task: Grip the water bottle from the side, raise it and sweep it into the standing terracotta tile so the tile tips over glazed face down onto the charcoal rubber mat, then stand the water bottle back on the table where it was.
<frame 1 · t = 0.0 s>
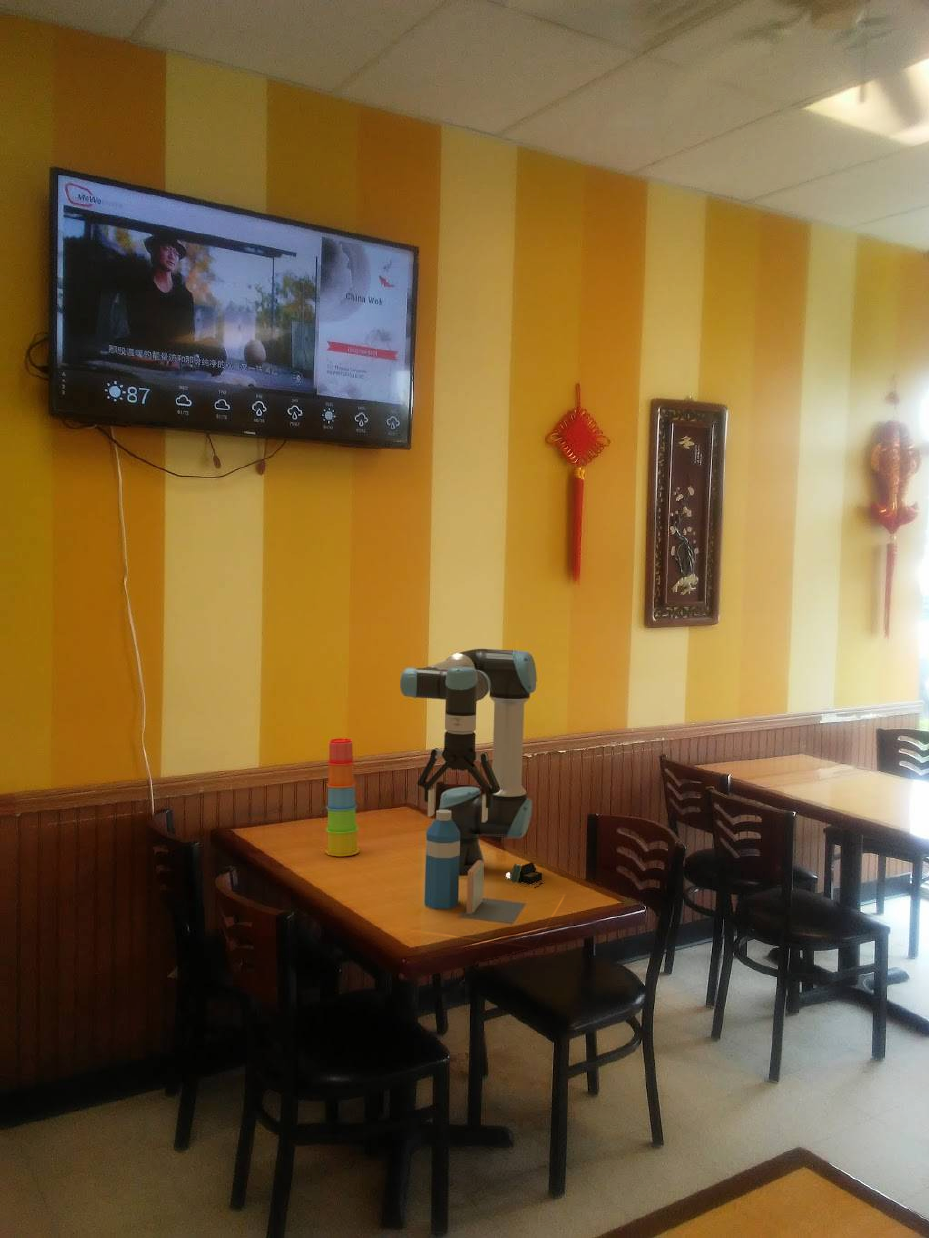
hand: (457, 818, 248), 28 cm above the table, tool pointing down, fingers open, 13 cm apart
tile: (474, 907, 265), point 1 cm above the table, touching mat
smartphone: (528, 882, 291), on the table
mat: (492, 912, 264), on the table
stacking cups: (342, 853, 311), on the table
water bottle: (441, 906, 267), on the table
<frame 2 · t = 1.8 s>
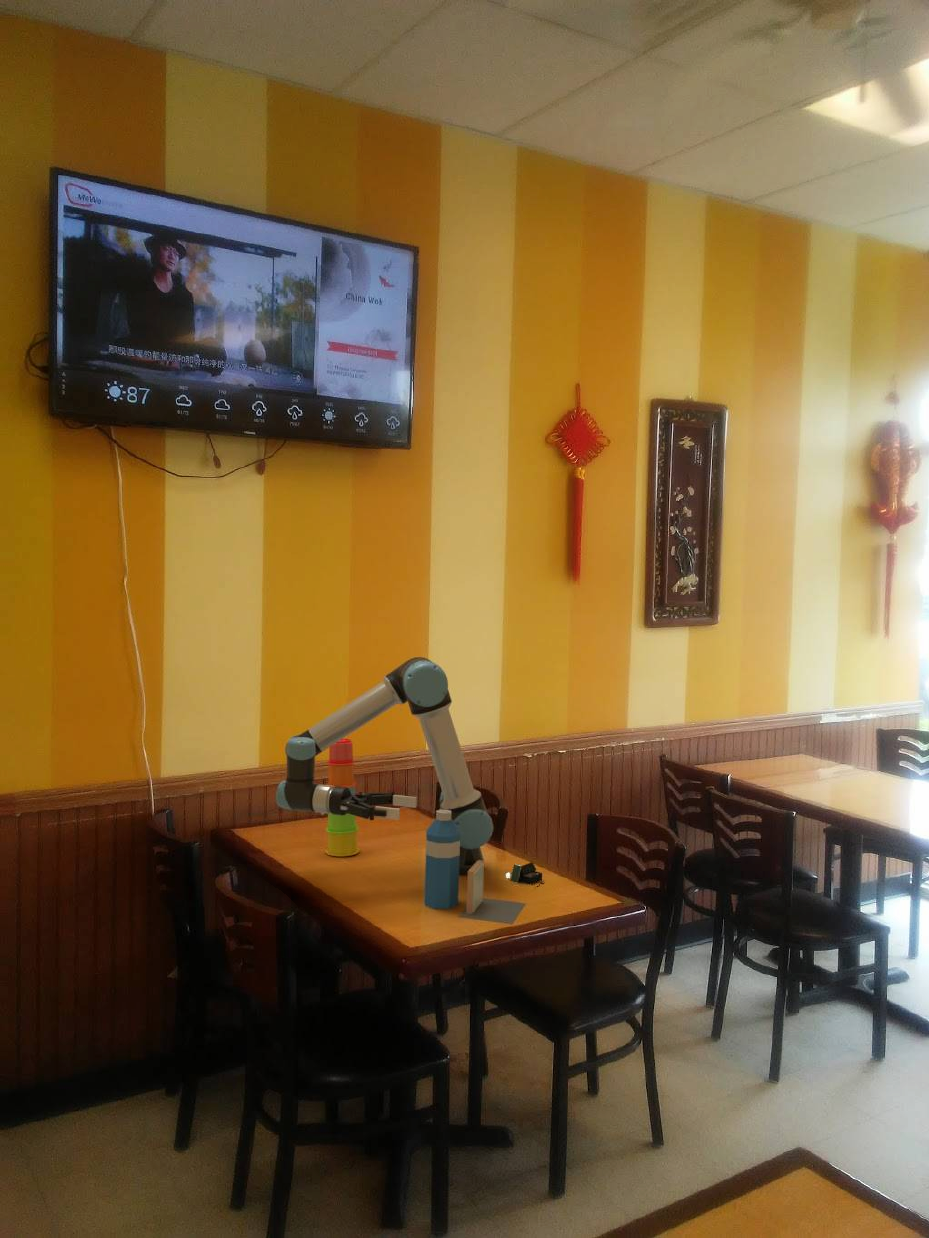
hand: (408, 808, 268), 25 cm above the table, tool horizontal, fingers open, 13 cm apart
nothing on the table moved.
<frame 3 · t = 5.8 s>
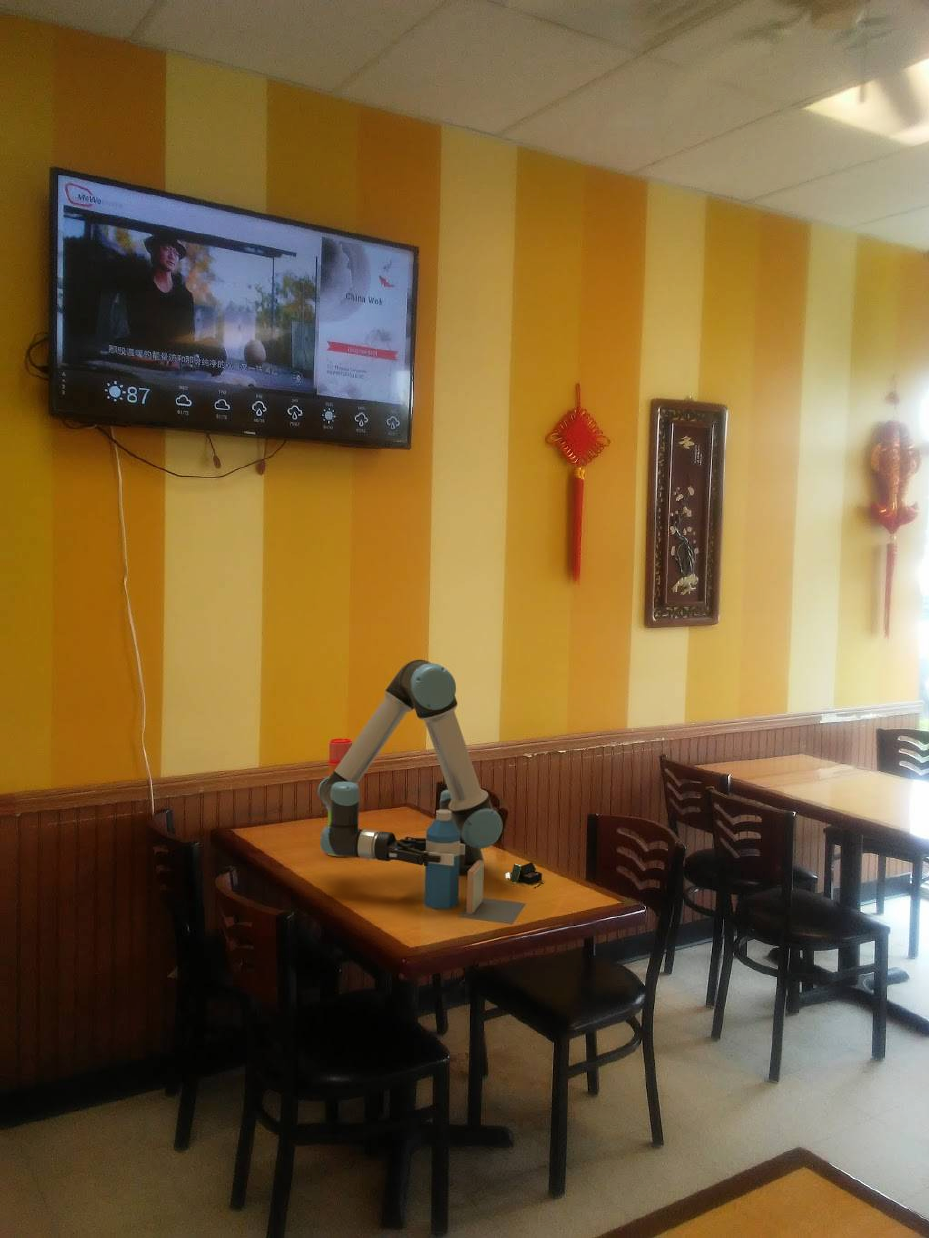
hand: (459, 854, 265), 14 cm above the table, tool horizontal, fingers closed on water bottle, 9 cm apart
water bottle: (441, 906, 267), on the table, touching gripper
everything else where it was.
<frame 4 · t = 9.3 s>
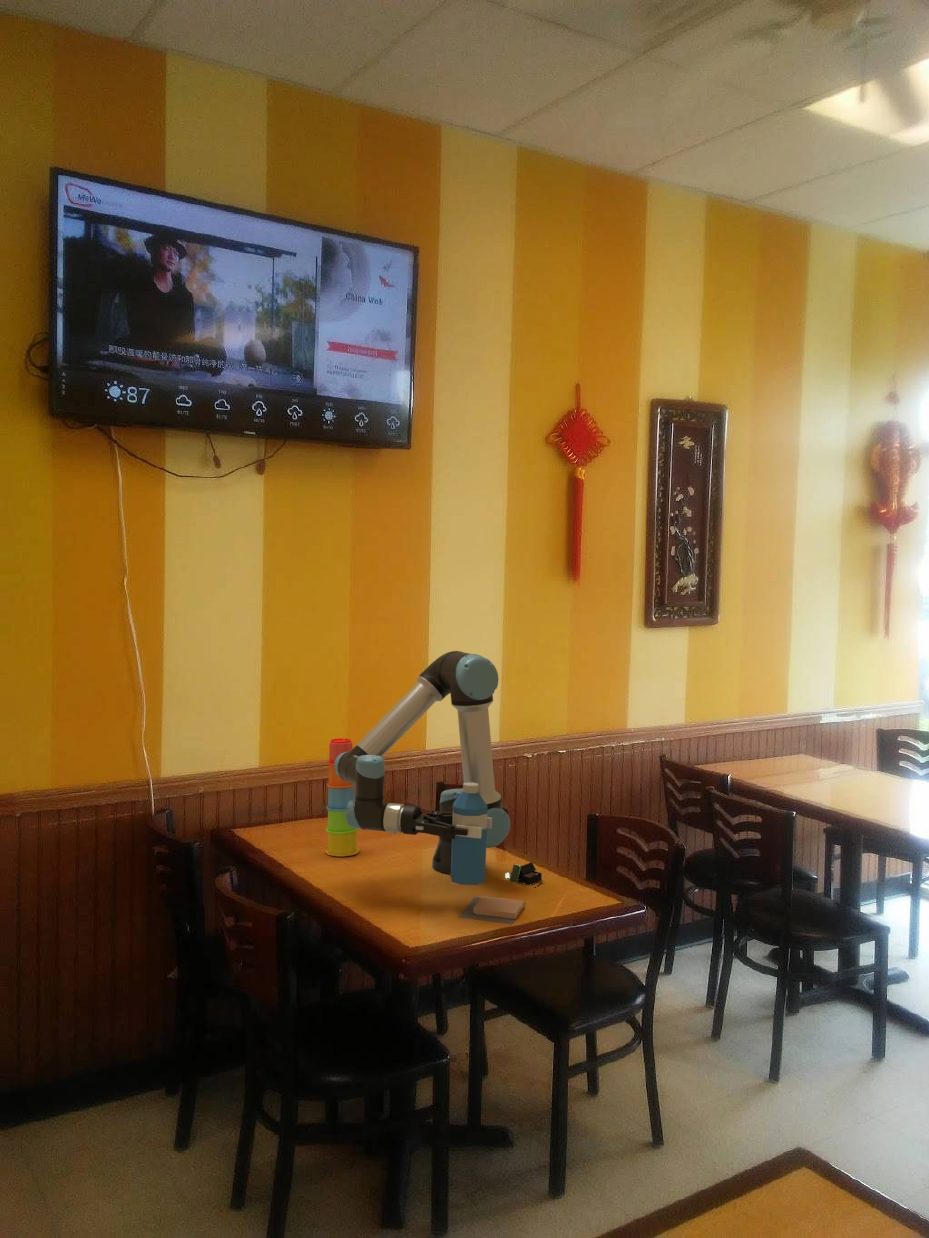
hand: (486, 827, 262), 22 cm above the table, tool horizontal, fingers closed on water bottle, 9 cm apart
tile: (478, 904, 265), point 2 cm above the table, tilted 90°, touching mat
water bottle: (467, 880, 264), point 8 cm above the table, touching gripper
everything else where it was.
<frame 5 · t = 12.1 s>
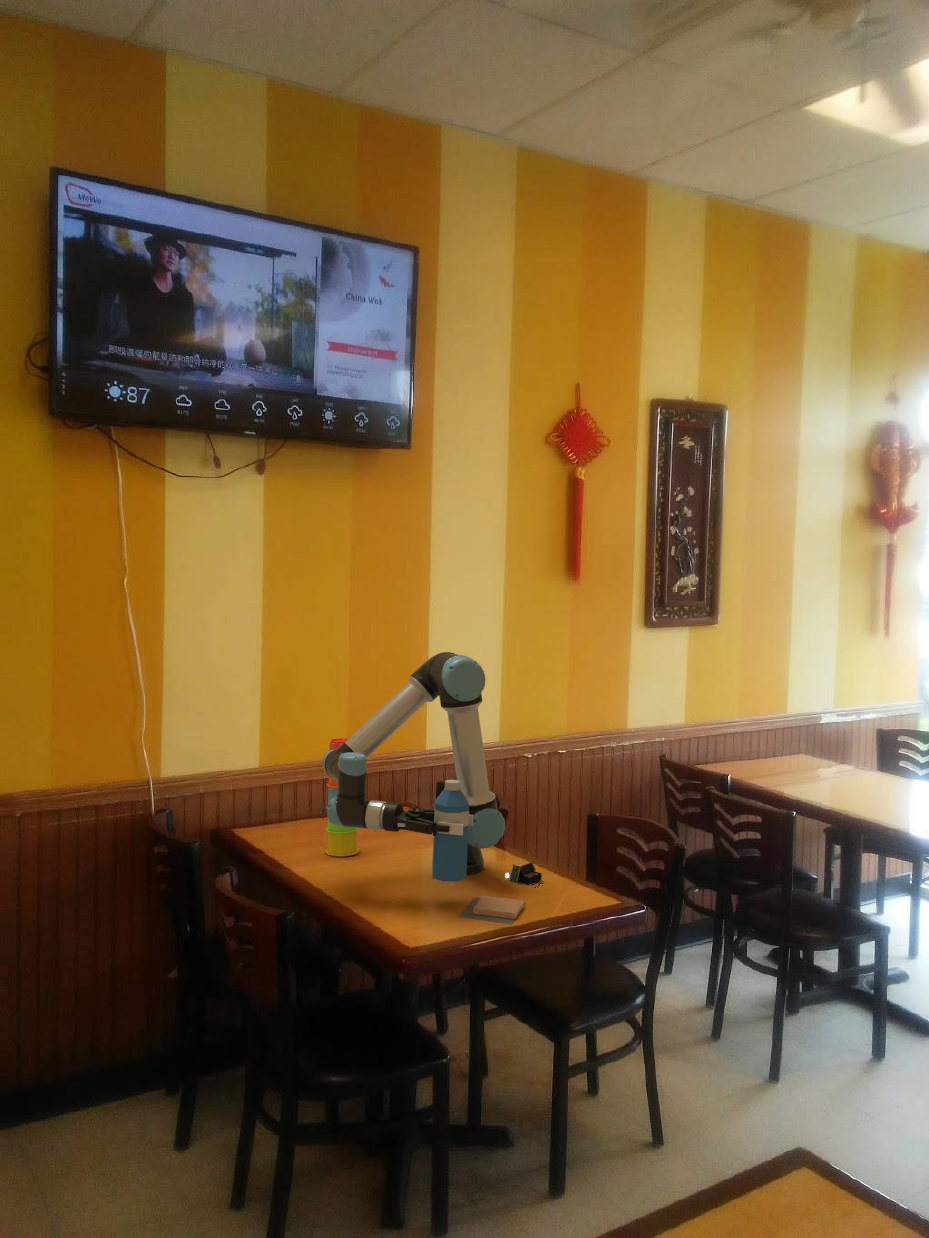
hand: (467, 824, 264), 22 cm above the table, tool horizontal, fingers closed on water bottle, 9 cm apart
water bottle: (449, 876, 266), point 8 cm above the table, touching gripper
everything else where it was.
when the fingers open (15 cm above the table, at t = 14.2 s): water bottle stays where it is, on the table.
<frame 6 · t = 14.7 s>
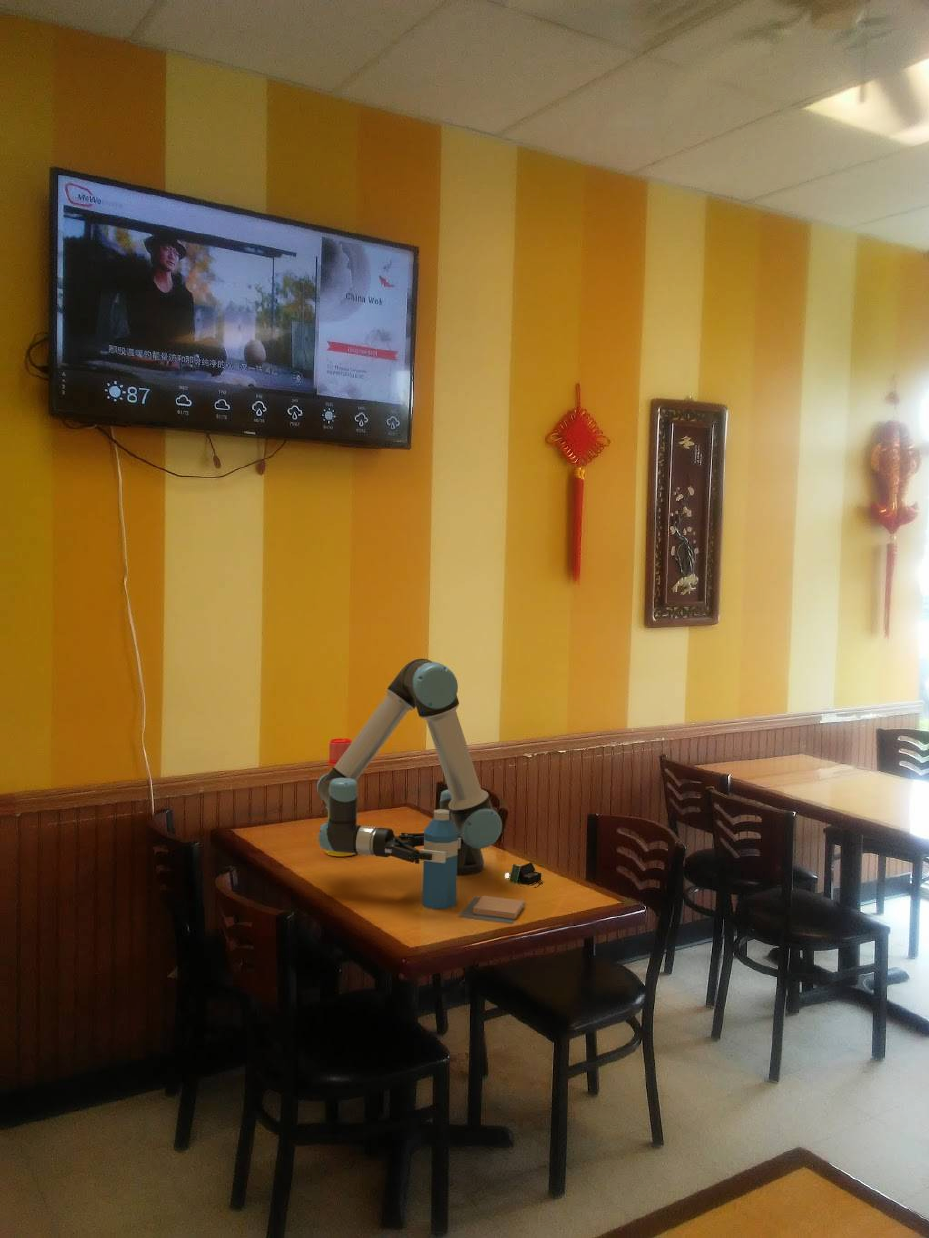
hand: (453, 850, 266), 15 cm above the table, tool horizontal, fingers open, 13 cm apart
water bottle: (438, 906, 268), on the table
everything else where it was.
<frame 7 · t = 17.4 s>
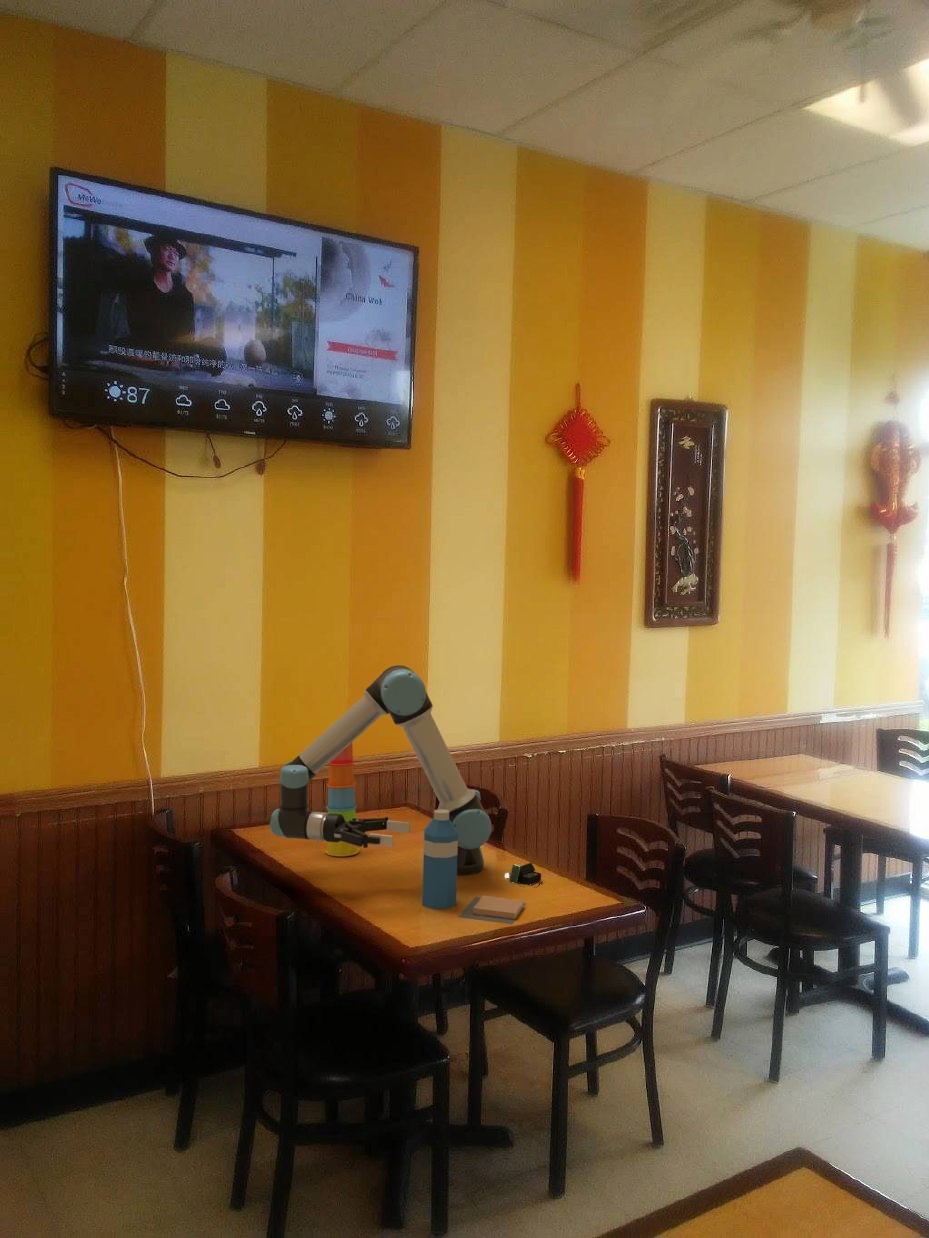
hand: (401, 834, 270), 18 cm above the table, tool horizontal, fingers open, 13 cm apart
nothing on the table moved.
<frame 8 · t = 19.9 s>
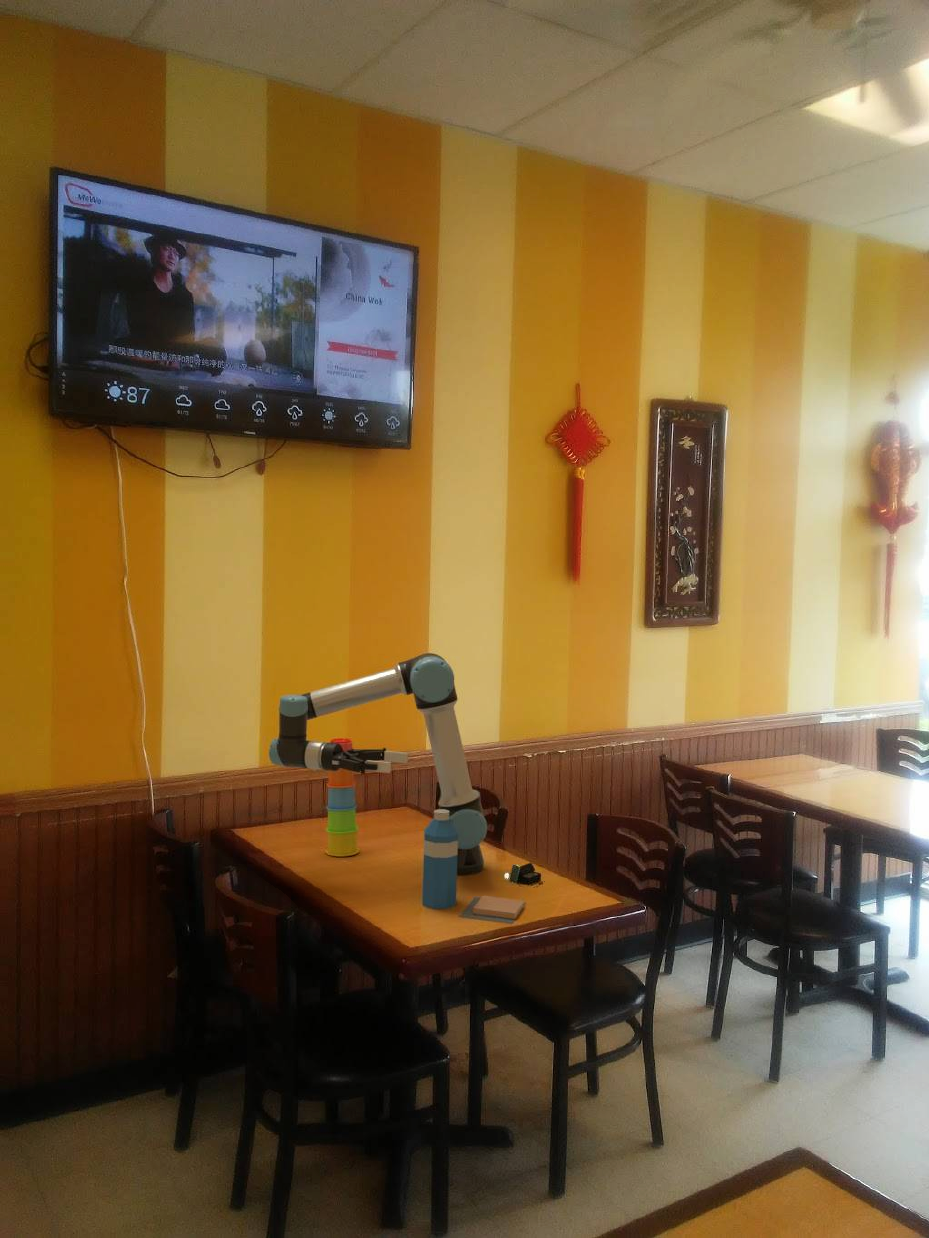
hand: (399, 762, 272), 36 cm above the table, tool horizontal, fingers open, 13 cm apart
nothing on the table moved.
at the end: tile tilted 90°; tile inside the target area (2.5 cm from its centre), point 1.6 cm above the table; water bottle inside the target area (0.1 cm from its centre), on the table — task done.
